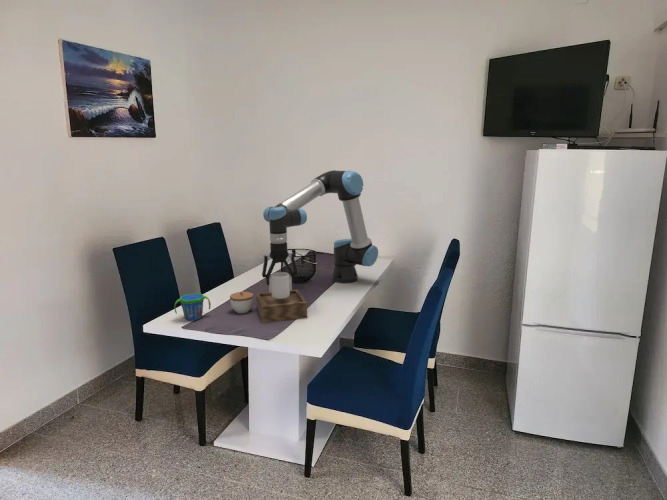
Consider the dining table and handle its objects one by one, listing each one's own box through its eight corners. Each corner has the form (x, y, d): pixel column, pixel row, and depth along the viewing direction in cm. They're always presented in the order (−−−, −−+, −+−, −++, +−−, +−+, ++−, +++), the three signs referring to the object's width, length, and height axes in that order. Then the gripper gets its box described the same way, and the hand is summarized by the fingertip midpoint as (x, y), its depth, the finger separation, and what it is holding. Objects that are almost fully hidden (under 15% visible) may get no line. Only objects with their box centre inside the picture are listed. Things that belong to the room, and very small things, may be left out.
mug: (280, 290, 228) (279, 269, 226) (296, 292, 225) (295, 270, 223) (268, 298, 217) (267, 276, 215) (285, 299, 214) (284, 277, 212)
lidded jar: (228, 309, 228) (227, 290, 226) (250, 305, 232) (249, 287, 230) (233, 316, 219) (232, 296, 217) (256, 312, 223) (255, 293, 221)
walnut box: (298, 303, 235) (297, 289, 233) (307, 317, 216) (306, 302, 214) (256, 308, 229) (256, 293, 228) (262, 322, 210) (261, 307, 209)
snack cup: (174, 324, 210) (172, 301, 208) (176, 316, 220) (174, 294, 218) (211, 320, 214) (209, 298, 212) (211, 312, 224) (209, 291, 222)
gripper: (255, 245, 209) (258, 295, 214) (303, 242, 215) (305, 290, 219) (253, 242, 216) (255, 290, 221) (300, 238, 222) (301, 286, 227)
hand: (280, 290), depth 220 cm, fingers closed on mug, 9 cm apart
